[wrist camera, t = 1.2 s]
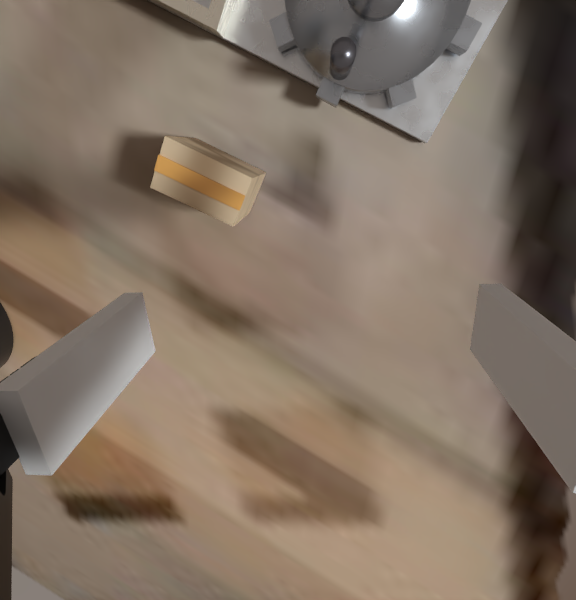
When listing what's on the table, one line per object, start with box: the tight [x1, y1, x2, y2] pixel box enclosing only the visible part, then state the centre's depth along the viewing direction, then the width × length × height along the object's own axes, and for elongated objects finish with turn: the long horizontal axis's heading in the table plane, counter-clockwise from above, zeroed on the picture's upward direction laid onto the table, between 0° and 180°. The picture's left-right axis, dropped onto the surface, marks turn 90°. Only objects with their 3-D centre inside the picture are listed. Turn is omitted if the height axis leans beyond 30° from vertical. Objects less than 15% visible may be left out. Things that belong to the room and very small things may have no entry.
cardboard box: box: [150, 136, 266, 227], centre depth 31 cm, size 7×4×7 cm, turn 65°
